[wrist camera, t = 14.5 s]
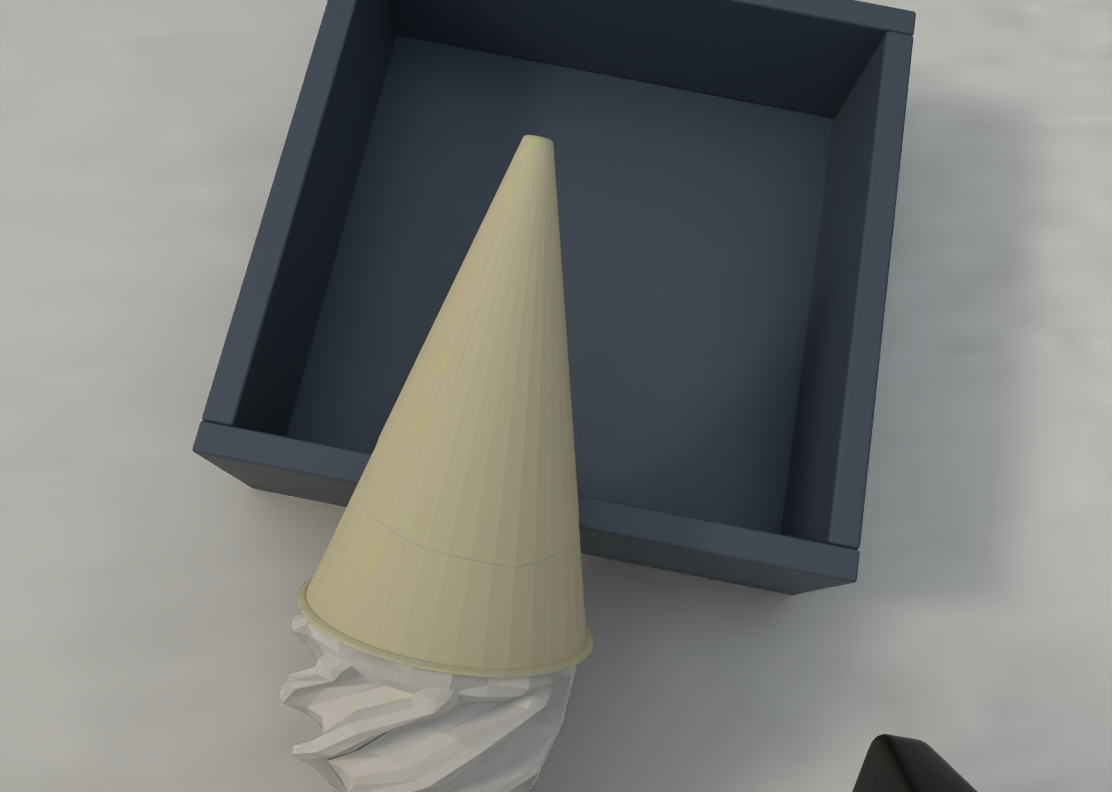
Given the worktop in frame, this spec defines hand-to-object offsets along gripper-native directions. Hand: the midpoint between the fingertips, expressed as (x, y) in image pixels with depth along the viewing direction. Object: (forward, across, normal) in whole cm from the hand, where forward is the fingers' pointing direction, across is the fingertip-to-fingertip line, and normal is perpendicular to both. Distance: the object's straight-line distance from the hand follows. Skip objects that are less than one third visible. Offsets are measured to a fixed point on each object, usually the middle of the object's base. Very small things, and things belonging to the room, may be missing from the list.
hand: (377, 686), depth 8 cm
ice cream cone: (+9, 0, -4) cm, 10 cm away
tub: (+15, -1, 0) cm, 15 cm away
